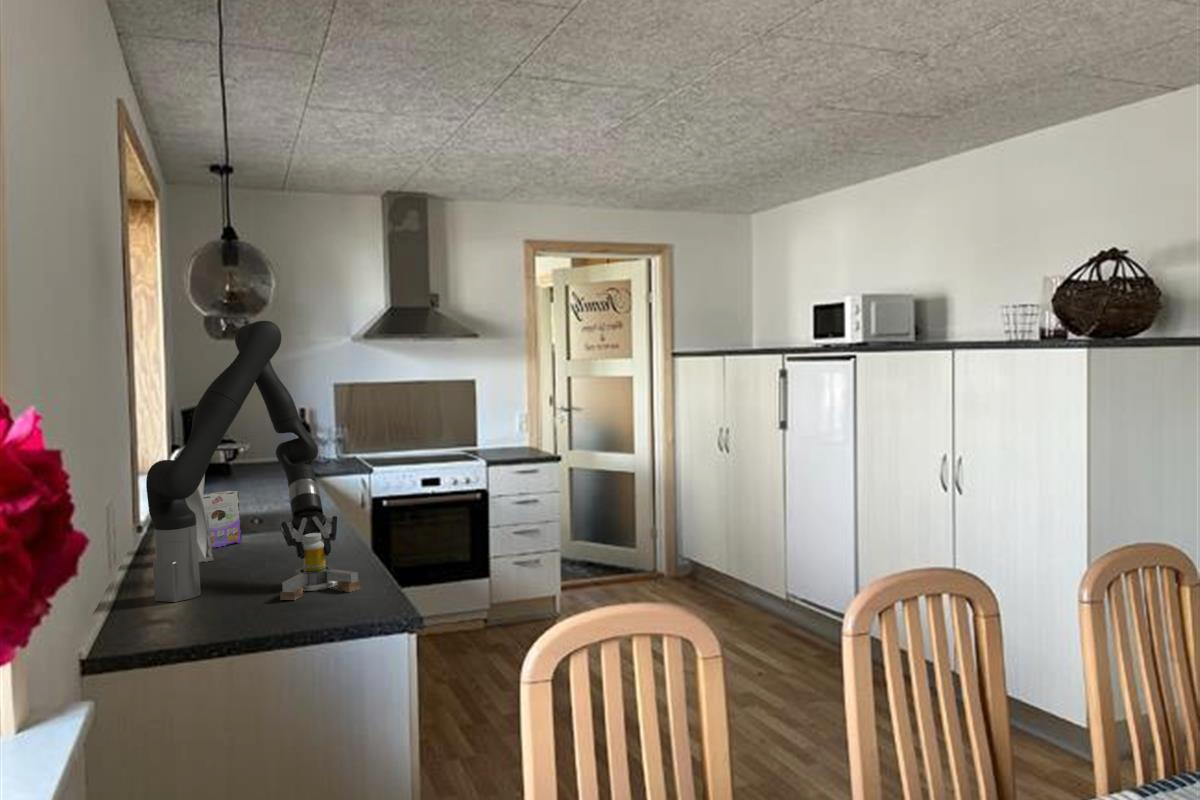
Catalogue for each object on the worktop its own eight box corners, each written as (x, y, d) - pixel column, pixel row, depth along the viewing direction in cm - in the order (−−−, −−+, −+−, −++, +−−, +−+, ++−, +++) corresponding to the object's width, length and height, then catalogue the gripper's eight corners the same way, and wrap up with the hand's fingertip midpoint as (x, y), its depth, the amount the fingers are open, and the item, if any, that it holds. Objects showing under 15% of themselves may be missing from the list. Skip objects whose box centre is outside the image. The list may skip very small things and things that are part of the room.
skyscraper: (213, 562, 249) (207, 464, 248) (182, 566, 246) (175, 466, 244) (212, 556, 257) (206, 461, 255) (182, 560, 253) (176, 463, 252)
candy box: (232, 541, 279) (229, 489, 278) (242, 543, 275) (239, 491, 274) (189, 549, 268) (186, 496, 267) (198, 552, 264) (195, 497, 263)
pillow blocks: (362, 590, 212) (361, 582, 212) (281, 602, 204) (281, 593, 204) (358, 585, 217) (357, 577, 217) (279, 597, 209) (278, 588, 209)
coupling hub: (320, 593, 211) (319, 576, 211) (279, 590, 215) (278, 574, 215) (349, 580, 223) (349, 564, 223) (310, 578, 227) (309, 562, 226)
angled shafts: (326, 594, 202) (326, 585, 202) (277, 591, 206) (277, 582, 206) (361, 579, 215) (360, 570, 215) (314, 576, 219) (314, 568, 219)
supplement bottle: (299, 573, 219) (297, 535, 218) (319, 568, 223) (316, 531, 222) (310, 576, 215) (307, 537, 215) (330, 571, 219) (327, 533, 219)
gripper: (276, 495, 222) (284, 551, 212) (335, 488, 228) (346, 543, 218) (275, 512, 227) (283, 568, 217) (332, 506, 233) (343, 559, 223)
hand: (314, 555), depth 217 cm, fingers closed on supplement bottle, 5 cm apart
